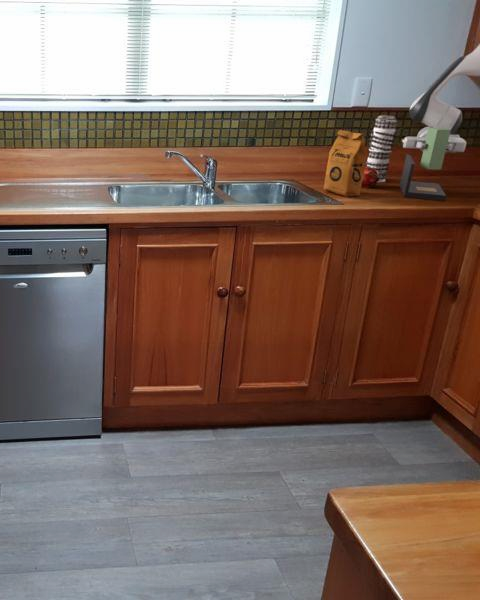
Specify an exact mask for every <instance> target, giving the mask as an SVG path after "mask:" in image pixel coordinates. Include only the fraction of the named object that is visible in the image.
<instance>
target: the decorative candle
mask: <svg viewBox="0 0 480 600" xmlns="http://www.w3.org/2000/svg"><path fill="white" fill-rule="evenodd" d="M374 120H375V123H374V127H373V130H372V131H373V132H372V133H370V138H369V141H371V142H369V143H368V145H369V146H368V151H369V153H368V157H367V161H365V166H366V167H367V166H370V167H371V168H372V169H374V170H376V172H377V175H379V178H380V179H379V181H377V183H385V182H386V179H387V175H388V171H387V170H389V166H390V163H389V162H390V155H391V153H392V151H393V149H392V147H394V146H395V144H394V143H395V139H394V138H396V137H397V133H398V132H397V131H396V127H397V122H398V120H397V118H396V116H394V115H385V114H384V115H383V114H382V115H379V116H377V118H375V119H374Z"/></svg>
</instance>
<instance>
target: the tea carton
mask: <svg viewBox="0 0 480 600" xmlns="http://www.w3.org/2000/svg"><path fill="white" fill-rule="evenodd" d="M450 131H451V130H450V129H445V128H429V130H428V134H427V138H426V142H425V143H426V146H425V149H424V151H423V152H422V155H421V158H420V159H421V161H420V164H419V167H420V168H422V169H426V170H441V169H442V167H443V163H444V159H445V155H446V153H445V151H446V147H447V143H448V139H449V135H450Z"/></svg>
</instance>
